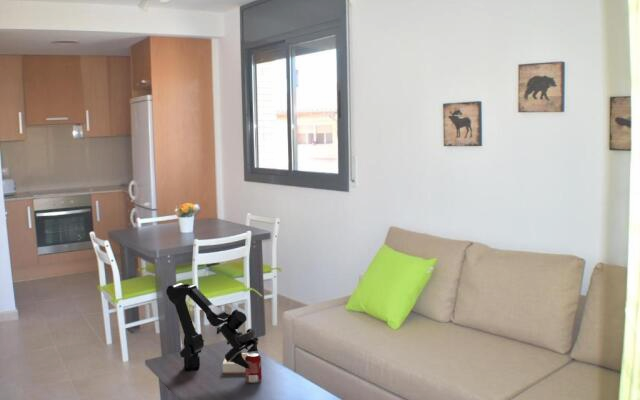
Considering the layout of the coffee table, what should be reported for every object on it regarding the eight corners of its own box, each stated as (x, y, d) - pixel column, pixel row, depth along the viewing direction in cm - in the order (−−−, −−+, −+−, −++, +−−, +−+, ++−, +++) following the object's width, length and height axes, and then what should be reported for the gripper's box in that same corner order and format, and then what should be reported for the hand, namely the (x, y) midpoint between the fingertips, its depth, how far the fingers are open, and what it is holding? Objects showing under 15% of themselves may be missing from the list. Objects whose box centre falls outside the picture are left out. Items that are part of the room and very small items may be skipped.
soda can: (258, 384, 246) (258, 357, 245) (243, 383, 248) (242, 356, 246) (263, 378, 253) (263, 351, 252) (248, 377, 254) (248, 350, 253)
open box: (222, 373, 259) (222, 363, 258) (227, 362, 271) (227, 353, 271) (250, 373, 259) (250, 363, 258) (254, 362, 271) (254, 352, 270)
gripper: (229, 331, 242) (253, 360, 238) (254, 318, 258) (276, 346, 255) (214, 346, 246) (237, 376, 242) (240, 333, 263) (261, 360, 259)
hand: (254, 364), depth 249 cm, fingers open, 9 cm apart
